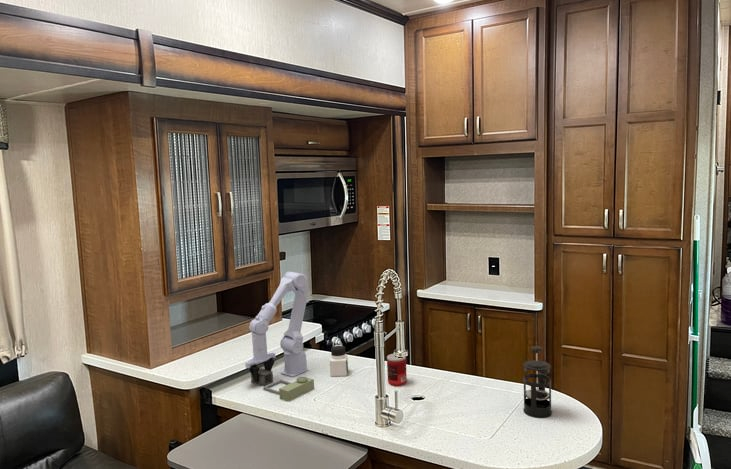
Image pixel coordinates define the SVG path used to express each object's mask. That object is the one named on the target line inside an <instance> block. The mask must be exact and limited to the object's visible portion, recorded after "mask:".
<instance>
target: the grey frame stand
mask: <svg viewBox="0 0 731 469" xmlns="http://www.w3.org/2000/svg"><path fill="white" fill-rule="evenodd" d="M279 384H283V385H284V386H282V387H279V388H278V390H277V389H273V387H275V386H277V385H279ZM262 388H263V389H262V390H263V391H266V392H269V393H272V394H275V395H279V399H280V400H283V401H286V402H290V401H292V400H294V399H296V398H298V397H301V396H302V395H304V394H305V395H306V394H307V393H308V392H311V391H313V390H315V379H313V378H312V377H311V378H310V377H307V376H300V377H297V378H296V380H294V381H292V382H291V381H287V380H284V379H279V380H277V381H273V383H271V384H269V385H267V386H265V387H263V386H262Z"/></svg>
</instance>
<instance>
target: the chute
mask: <svg viewBox="0 0 731 469" xmlns="http://www.w3.org/2000/svg"><path fill="white" fill-rule="evenodd" d="M250 381H251V383H252V384H255V385H257V386H259V387H260V386H261V387H262V388H263V387H265V386H267V385H270V384H272V383H274V372H273V370H271V371H270V370H266V369H265V368H263V367H260V368H259V382H254V379H253V377H252V374H251V373H250Z"/></svg>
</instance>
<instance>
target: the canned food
mask: <svg viewBox="0 0 731 469" xmlns="http://www.w3.org/2000/svg"><path fill="white" fill-rule="evenodd" d="M386 368H387V370H386V371H387V382H388V385H390V386H391V387H392V386H393V387H402V386H404V385H406V384H407V381H408V380H407V378H408V377H407V356H406V357H403V358H398V357H395V356H394V353H391V354H388V355H387V356H386Z"/></svg>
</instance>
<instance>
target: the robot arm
mask: <svg viewBox="0 0 731 469" xmlns="http://www.w3.org/2000/svg"><path fill="white" fill-rule="evenodd" d="M308 281H309V279H308V278H307V277H306V275H305V274H304V273H301V272H300V273H299V272H293V271H291V270H290V271H286V272H285V273H284V275H283V276H282V278H281V279H280V283H279V286H278V287H277V289H276V291H274V293H273V296H272V298H271V299H270V301H269V302H268V303H267V302H266V303H265V304H264V305H262V306H261V309H260V311H259V313H257V315H256V316H255V317H254V319H252V320H251V321H250V322H249V326H248V329H249V331H250V332H251V338H252V339H251V341H252V342H251V343H252V353H253V357H252V358H251V359H250V360H248V361H247V362H245V363H244V366H245V368H247V369H248V371H249V372H250V375H251V374H252V377H253V379H254V382H259V368H261V367H260V366H258V365H259V364H261V363H262V364H263V366H264V368H263V369H266V370H270V371H272V369H273V366H274V364H275V360H274V359H276V357H277V356H276V353H275V352H271V353H268V345H267V344H268V343H267V331H268V330H269V325H270V322H271V321H272V319H273V318H274V316H275V314H276V313H277V307H278V305H279V304H280V303H281V301H282V300H283V298H284V297H285V296H286V294H287V293H289V292H292V291H293V293H294V299H293V303H292V304H293V305H292V308H291V309H292V310H291V313H290V314H291V315H290V319H289V324H288V329H287V330H286V331H285V332H284V333H283V336H282V338H281V339H280V343H279V345H280V349H282V350H283V361H284V363H283V364H284V370H283V371H280V374H282V375H284V376H285V375H286V376H289V377H292V378H294V377H297V376H298V375H301V374H303V373H306V372H307V371H309V369H308V364H307V363H308V361H307V354H306V352H305V351H304V343H303V340H304V337H303V334H302V331H301V330H302V325H303V320H304V317H305V311H306V306H307V300H308V297H309V289H308V288H309V287H308Z"/></svg>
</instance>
